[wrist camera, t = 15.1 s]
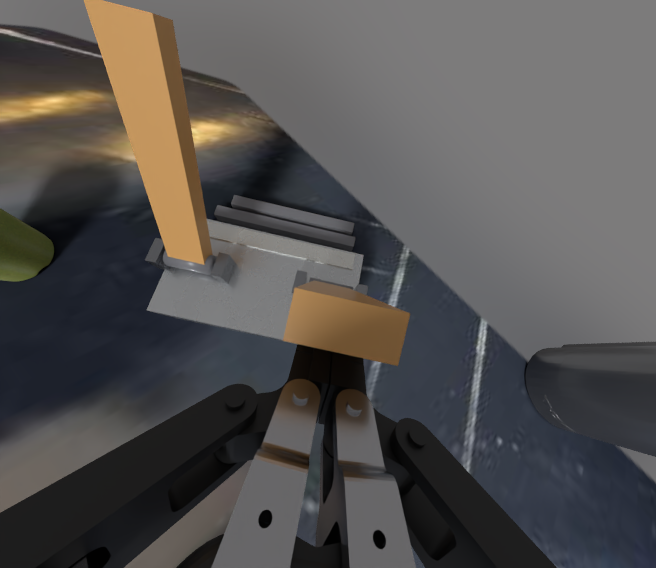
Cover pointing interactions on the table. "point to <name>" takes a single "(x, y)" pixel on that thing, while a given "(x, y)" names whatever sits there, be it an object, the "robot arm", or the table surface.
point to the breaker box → (249, 279)
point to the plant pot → (22, 249)
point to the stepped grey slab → (288, 222)
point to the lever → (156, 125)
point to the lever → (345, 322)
